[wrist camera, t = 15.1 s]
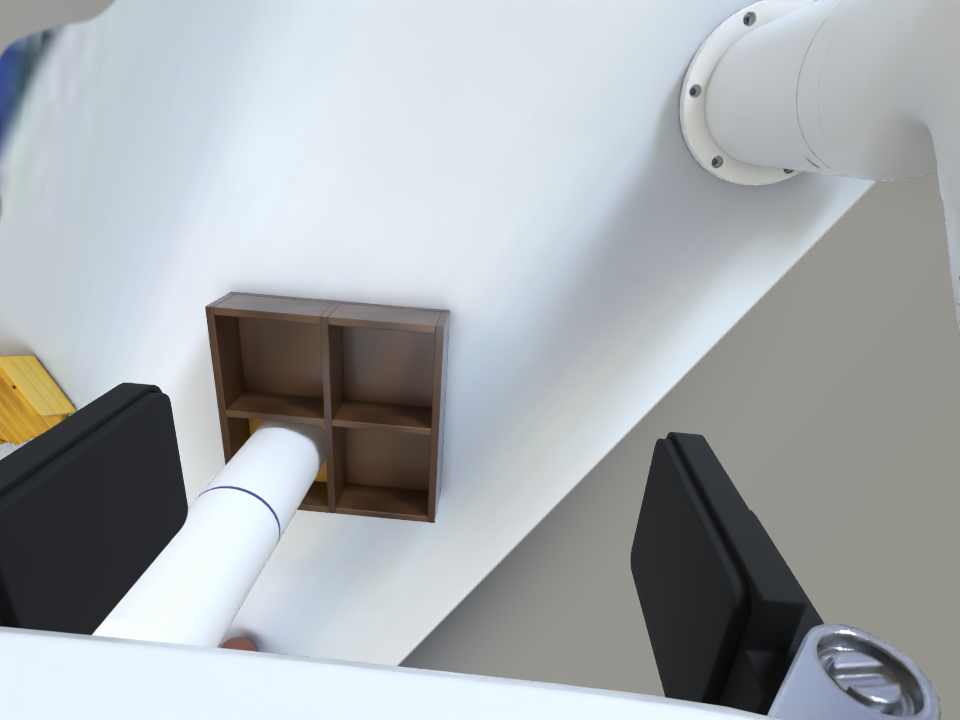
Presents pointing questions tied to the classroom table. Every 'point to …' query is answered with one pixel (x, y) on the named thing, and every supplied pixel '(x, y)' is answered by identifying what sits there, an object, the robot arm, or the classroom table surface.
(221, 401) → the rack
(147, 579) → the cylindrical container
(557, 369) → the classroom table surface
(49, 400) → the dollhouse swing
